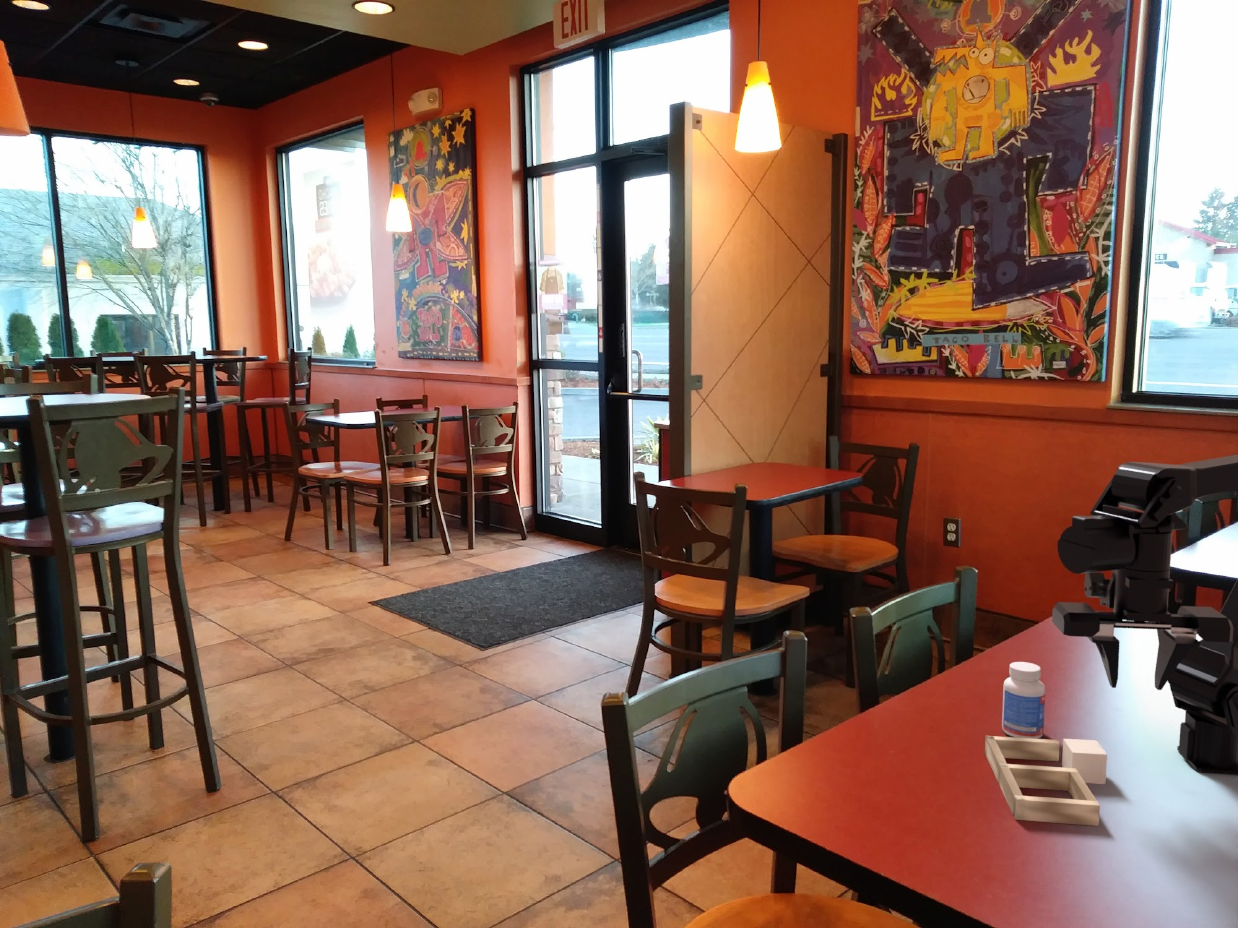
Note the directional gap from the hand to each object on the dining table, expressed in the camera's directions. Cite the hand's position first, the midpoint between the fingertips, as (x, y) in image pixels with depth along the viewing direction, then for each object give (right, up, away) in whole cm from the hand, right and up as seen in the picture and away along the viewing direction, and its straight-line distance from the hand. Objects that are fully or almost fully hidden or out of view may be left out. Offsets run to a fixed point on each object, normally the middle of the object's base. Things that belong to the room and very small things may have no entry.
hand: (1135, 687), depth 112 cm
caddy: (-12, -12, 0) cm, 17 cm away
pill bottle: (-7, -10, +15) cm, 20 cm away
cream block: (-5, -12, +3) cm, 13 cm away
